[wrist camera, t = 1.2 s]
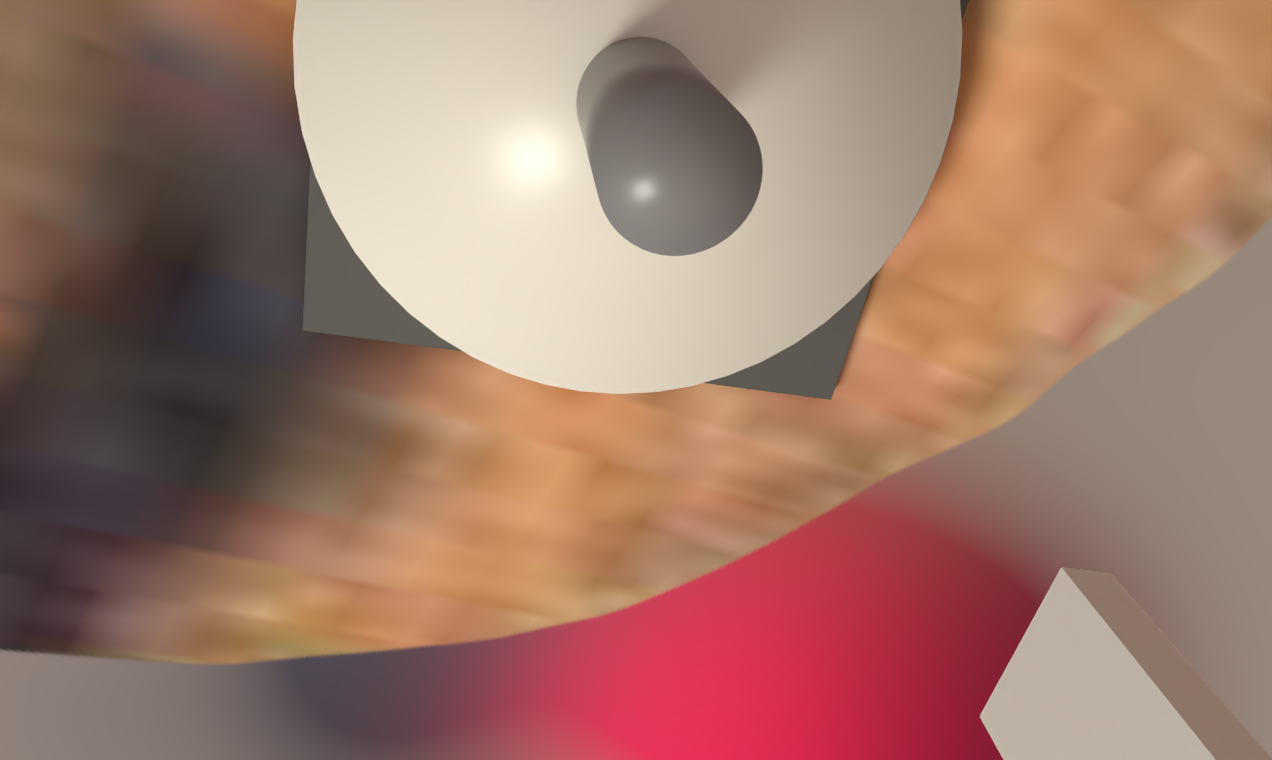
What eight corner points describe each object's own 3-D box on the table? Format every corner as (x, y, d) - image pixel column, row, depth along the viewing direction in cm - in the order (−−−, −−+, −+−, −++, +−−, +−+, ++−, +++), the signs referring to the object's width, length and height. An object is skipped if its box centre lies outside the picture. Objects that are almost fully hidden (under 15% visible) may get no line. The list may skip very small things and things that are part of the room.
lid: (317, -398, 26) (210, -549, 17) (1049, -193, 30) (1274, -225, 21) (288, 339, 36) (213, 491, 27) (837, 410, 40) (929, 560, 31)
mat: (338, -366, 26) (334, -371, 26) (1021, -179, 31) (1030, -180, 30) (305, 323, 36) (302, 330, 36) (827, 392, 40) (831, 399, 40)
